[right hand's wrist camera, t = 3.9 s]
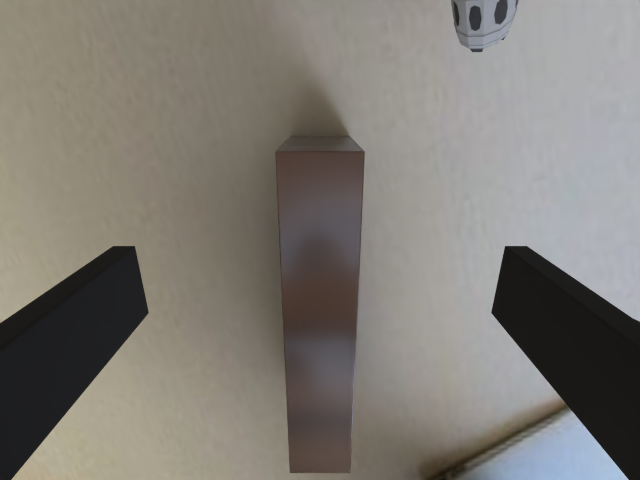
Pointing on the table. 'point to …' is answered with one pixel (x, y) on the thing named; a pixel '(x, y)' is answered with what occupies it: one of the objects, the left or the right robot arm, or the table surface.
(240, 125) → the table surface
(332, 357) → the plank
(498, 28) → the robot
